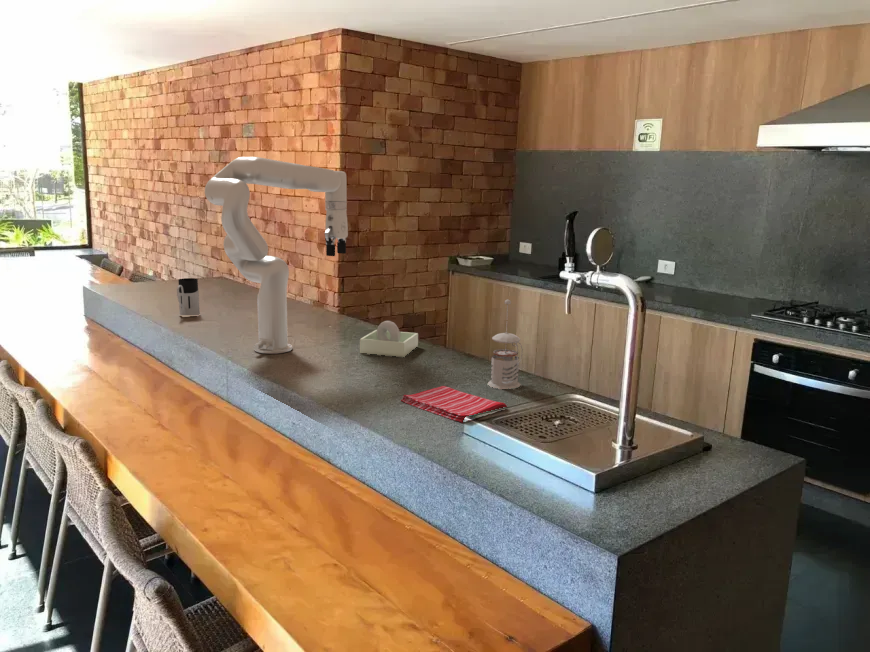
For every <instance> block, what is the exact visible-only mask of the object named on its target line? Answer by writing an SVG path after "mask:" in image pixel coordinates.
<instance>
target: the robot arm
mask: <svg viewBox="0 0 870 652" xmlns="http://www.w3.org/2000/svg"><path fill="white" fill-rule="evenodd" d="M248 185H259V186H266V187H273V188H279V189H286V190H287V189H288V190H308V191H309V192H312V193H313V192H314V193H324V197H325V199H324V201H325V202H324V207H325V208H324V209H325V211H326V214H325V232H324V237H325V238H324V239H325V252H326V253H325V255H326V256H327V257H336V253H337V254H341V255H342V254H346V253H347V238H348V235H349V232H348V231H349V228H348V227H349V225H348V214H347V213H348V212H347V211H348V209H347V206H348V205H347V203H348V201H347V199H348V197H347V196H348V195H347V173H346V172H345V171H342V170H333V169H329V168H323V167H318V166H311V165H304V164H301V163H294V162H288V161H282V160H281V161H280V160H275V159H270V158H266V157H265V158H264V157H259V156H240V157H236V158H235V159H233V160H231V162H229V163H228V164H227V165H226V166H224V167H223V168H221V169H220V170H219V171H218V172H217V173H215V175H213V176H212V177H211V178H210V179H209V180H208V181H207V182H206V184H205V187H204V195H205V196H204V197H205V198H206V200H207V201H208V202H209V203H211V204H212V205H215V206H218V207H219V206H220V207H221V206H222V208H221V216H220V219H221V226H222V228H223V230H224V232H225V233H226V235H225V237H224V240H223V250H224V252H225V254H226V256H227V257H228V260H229V261H231V262H232V264H233V266H234V267H235V268H236V269H237V270H238V271H239V273H240V274H241V275H242V276H243V277H244V279H246V280H248V281H249V282H252V283H257V284H260V286H259V290H258V293H257V297H256V298H257V303H256V305H257V326H258V328H257V329H258V331H257V333H258V340H257V341H258V342H256V343H254V344H253V350H254V351H255V352H256V353H260V354H268V355H269V354H270V355H271V354H275V355H276V354H283V353H287V352H291V350H293V345H292V344H290V343H288V342H289V341H288V303H287V300H288V299H287V298H288V297H287V289H288V284H289V277H290V269H289V265H288V264H287V262H286V261H285V260H284V259H283V258H280V257H278V256H273V255H268V252H269V246H268V243H267V241H266V239H265V238H264V237H263V235H262V234H261V233H260V231H259V230H258V228H257V227H256V226H255V224H254V223H253V222H252V220H251V219H250V217H249V213H248V205H249V201H250V197H251V196H250V195H251V194H250V193H251V191H250V188H249V186H248ZM336 240H337V242H336ZM335 242H336V244H335ZM336 245H337V246H336ZM336 248H337V250H336Z"/></svg>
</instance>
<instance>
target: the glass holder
mask: <svg viewBox="0 0 870 652" xmlns="http://www.w3.org/2000/svg"><path fill="white" fill-rule="evenodd" d="M199 292H200V291H199V281H198V278H194V277H191V278H189V277H188V278H184V277H183V278H179V279H178V285H177V288H176V293H177V294H176V296H177V300H178V305H179V306H178V307H179V314H180V315H199V314H201V311H200V295H199V294H200V293H199ZM179 314H178V315H179Z"/></svg>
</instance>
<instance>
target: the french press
mask: <svg viewBox="0 0 870 652" xmlns="http://www.w3.org/2000/svg"><path fill="white" fill-rule="evenodd" d="M504 304H505V305H506V319H508V317H509V316H508V311H509V305H511V304H512V300H510V299H506V300H504ZM505 324H506V325H505V326H506V329H505V330H506V331H505V332H501V333H500V332H499V333H496V334H495V335H493V336H492V337H491V339H492V340H493V342H495V343H500V344H511V345H512V347H516V349H517V350H514V349H507V346H505V349H504V348H503V349H502V348H501V349H500V348H499V349H495V350H493V351H492V352H493V355H492V356H491V368H490V369H491V371H490V373H491V375H490V378H491V379H490V380H489V381H488V382H487V386H488V385H489V386H490V388H492V387H493V388H492V389H495V388H498V389H497V390H502V389H508V388H509V389H511V388H516V387H519V386H520V385H521V386H522V384H521V383H520V382H519V381H518V380H519V364H520V363H521V361H522V359H523V350H524V349H523V346H522V344H521V342H520V341H521V338H520V337H519V336H517V335H516V334H514V333H509V332H508V322H506V323H505ZM513 344H515V345H513ZM518 344H519V345H520V348H521V355H520V358H519V346H518ZM513 357H514V358H513ZM500 359H503V360H500ZM513 359H514V360H513ZM489 386H488V387H489Z"/></svg>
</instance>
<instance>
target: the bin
mask: <svg viewBox="0 0 870 652" xmlns="http://www.w3.org/2000/svg"><path fill="white" fill-rule="evenodd" d="M386 334H387V338H388V339H389V340H390V333H389V331H388V330H387V333H386ZM416 347H419V333H418V332H408V331H400V342H396V341H384V340H378V339H377V329H375V330H373V331H371V332H369V333H368V334H366V335H364V336H362V337H361V338H360V339H359V354H360V353H367V354H366V355H370V354H377V355H376V356H381V355H385V356H384V357H392V356H396V357H395V358H403V357H404V358H406V357H407V356H408V355H410V354H411V353H412V352H413V351H412V350H413V349H415V348H416ZM416 349H417V348H416ZM416 349H415V350H416ZM411 351H412V352H411ZM410 352H411V353H410ZM409 353H410V354H409ZM407 354H408V355H407ZM406 355H407V356H406ZM405 356H406V357H405Z"/></svg>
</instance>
